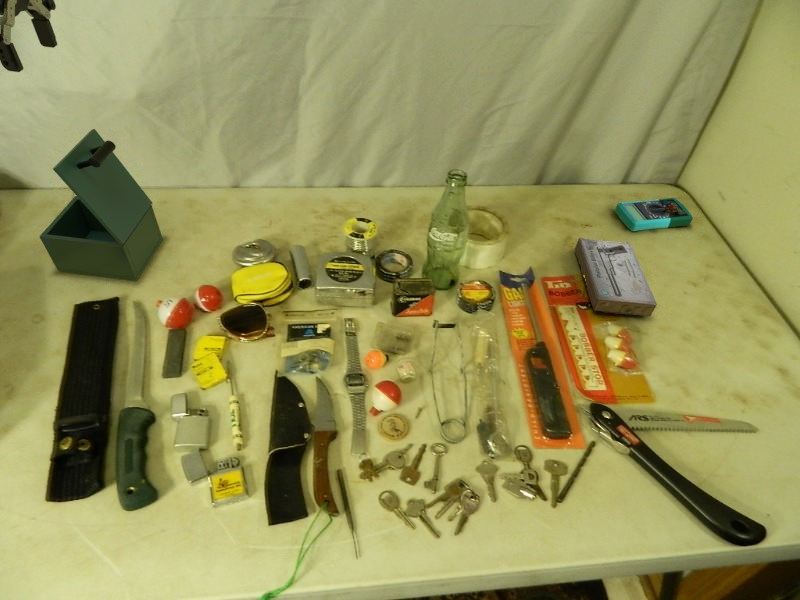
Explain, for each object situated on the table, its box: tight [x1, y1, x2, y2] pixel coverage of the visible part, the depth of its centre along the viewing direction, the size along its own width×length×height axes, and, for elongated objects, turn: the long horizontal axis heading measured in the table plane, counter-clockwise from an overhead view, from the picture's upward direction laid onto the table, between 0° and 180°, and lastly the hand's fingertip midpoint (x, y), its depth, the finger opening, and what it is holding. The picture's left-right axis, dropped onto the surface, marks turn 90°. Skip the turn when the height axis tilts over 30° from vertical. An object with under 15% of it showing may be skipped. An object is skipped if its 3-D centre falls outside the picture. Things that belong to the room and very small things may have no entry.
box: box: [574, 237, 658, 318], centre depth 97 cm, size 11×17×3 cm, turn 177°
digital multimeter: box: [614, 197, 694, 232], centre depth 112 cm, size 7×15×3 cm, turn 104°
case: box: [38, 195, 164, 282], centre depth 91 cm, size 14×11×8 cm
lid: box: [52, 128, 153, 245], centre depth 82 cm, size 14×11×5 cm
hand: (33, 58), depth 76 cm, fingers open, 8 cm apart
